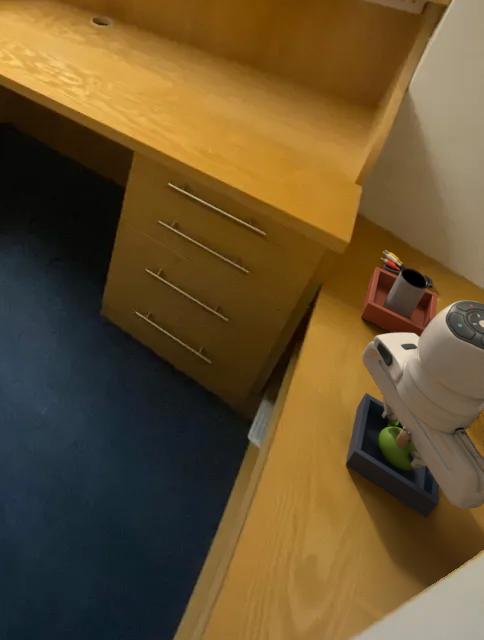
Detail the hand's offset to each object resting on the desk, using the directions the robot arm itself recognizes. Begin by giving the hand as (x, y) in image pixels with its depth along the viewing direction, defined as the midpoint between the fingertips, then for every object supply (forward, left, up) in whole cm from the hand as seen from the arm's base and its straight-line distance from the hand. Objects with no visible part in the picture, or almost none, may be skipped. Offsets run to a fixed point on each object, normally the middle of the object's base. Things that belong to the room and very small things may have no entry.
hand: (401, 440), depth 78 cm
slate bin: (0, 0, -6) cm, 6 cm away
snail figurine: (0, 0, -5) cm, 5 cm away
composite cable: (-26, -32, -6) cm, 42 cm away
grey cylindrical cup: (-18, -24, -5) cm, 30 cm away
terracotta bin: (-18, -24, -6) cm, 30 cm away
